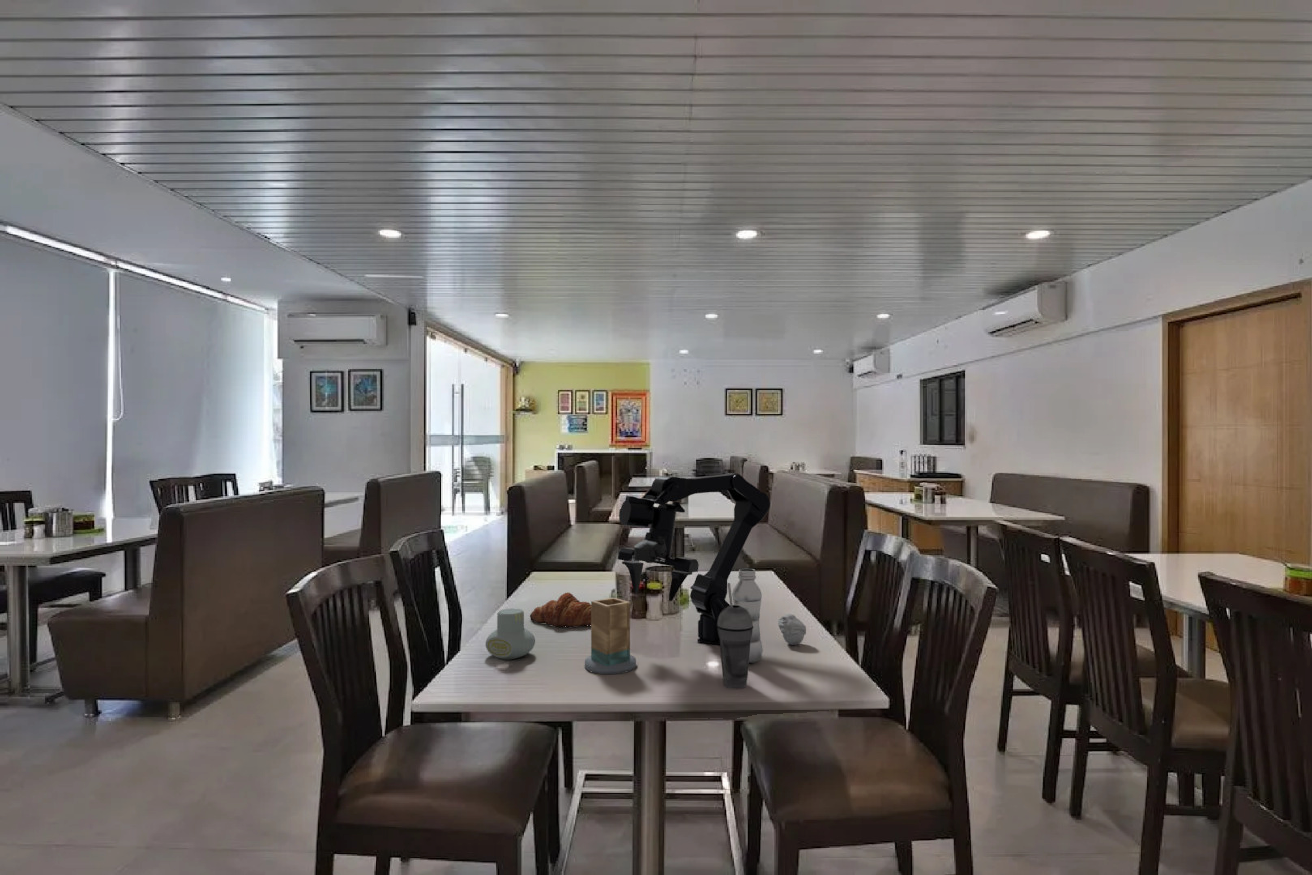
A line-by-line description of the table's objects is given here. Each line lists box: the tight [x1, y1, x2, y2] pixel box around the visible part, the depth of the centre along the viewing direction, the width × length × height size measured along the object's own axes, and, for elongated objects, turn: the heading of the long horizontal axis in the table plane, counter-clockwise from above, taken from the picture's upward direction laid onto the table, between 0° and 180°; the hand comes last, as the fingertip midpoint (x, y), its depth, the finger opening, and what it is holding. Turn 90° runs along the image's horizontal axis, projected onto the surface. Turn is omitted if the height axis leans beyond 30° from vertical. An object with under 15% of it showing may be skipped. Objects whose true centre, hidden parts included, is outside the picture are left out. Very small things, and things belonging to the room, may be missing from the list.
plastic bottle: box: [731, 568, 763, 664], centre depth 147 cm, size 6×7×20 cm
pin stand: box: [584, 654, 637, 675], centre depth 144 cm, size 11×11×5 cm
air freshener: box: [485, 608, 536, 661], centre depth 152 cm, size 11×8×10 cm
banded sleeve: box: [590, 597, 631, 666], centre depth 144 cm, size 6×6×12 cm
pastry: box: [529, 592, 591, 628], centre depth 180 cm, size 17×15×8 cm
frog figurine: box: [777, 613, 807, 646], centre depth 160 cm, size 6×7×7 cm
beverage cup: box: [717, 582, 753, 690], centre depth 133 cm, size 7×7×20 cm
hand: (652, 597), depth 155 cm, fingers open, 9 cm apart
